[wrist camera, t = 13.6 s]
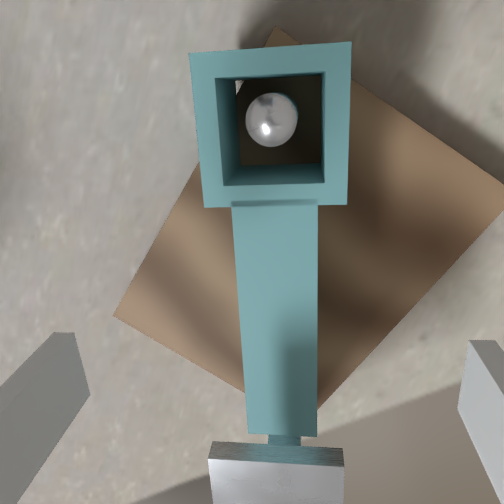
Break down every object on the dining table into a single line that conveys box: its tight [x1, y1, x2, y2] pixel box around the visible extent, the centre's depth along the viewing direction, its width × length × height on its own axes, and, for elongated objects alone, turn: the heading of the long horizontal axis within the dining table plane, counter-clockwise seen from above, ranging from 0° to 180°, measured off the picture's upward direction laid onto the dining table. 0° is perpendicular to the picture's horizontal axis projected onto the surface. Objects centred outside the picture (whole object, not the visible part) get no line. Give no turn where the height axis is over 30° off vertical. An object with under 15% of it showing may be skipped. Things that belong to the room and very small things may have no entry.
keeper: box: [208, 435, 344, 504], centre depth 25 cm, size 7×6×12 cm
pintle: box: [246, 92, 299, 147], centre depth 21 cm, size 2×2×7 cm
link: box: [189, 41, 352, 437], centre depth 23 cm, size 20×7×6 cm, turn 3°
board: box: [113, 26, 504, 410], centre depth 27 cm, size 21×16×2 cm
